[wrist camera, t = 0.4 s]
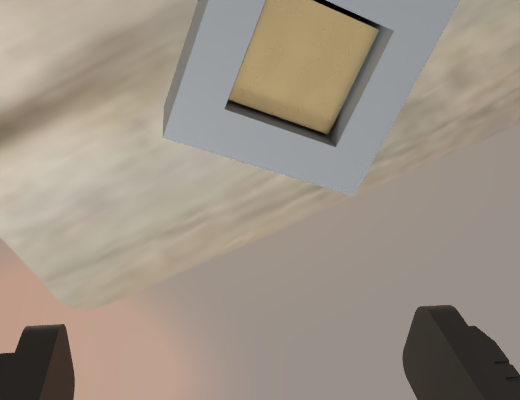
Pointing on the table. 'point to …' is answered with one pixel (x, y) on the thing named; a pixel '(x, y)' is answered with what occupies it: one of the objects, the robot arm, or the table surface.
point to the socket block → (286, 132)
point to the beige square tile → (302, 62)
